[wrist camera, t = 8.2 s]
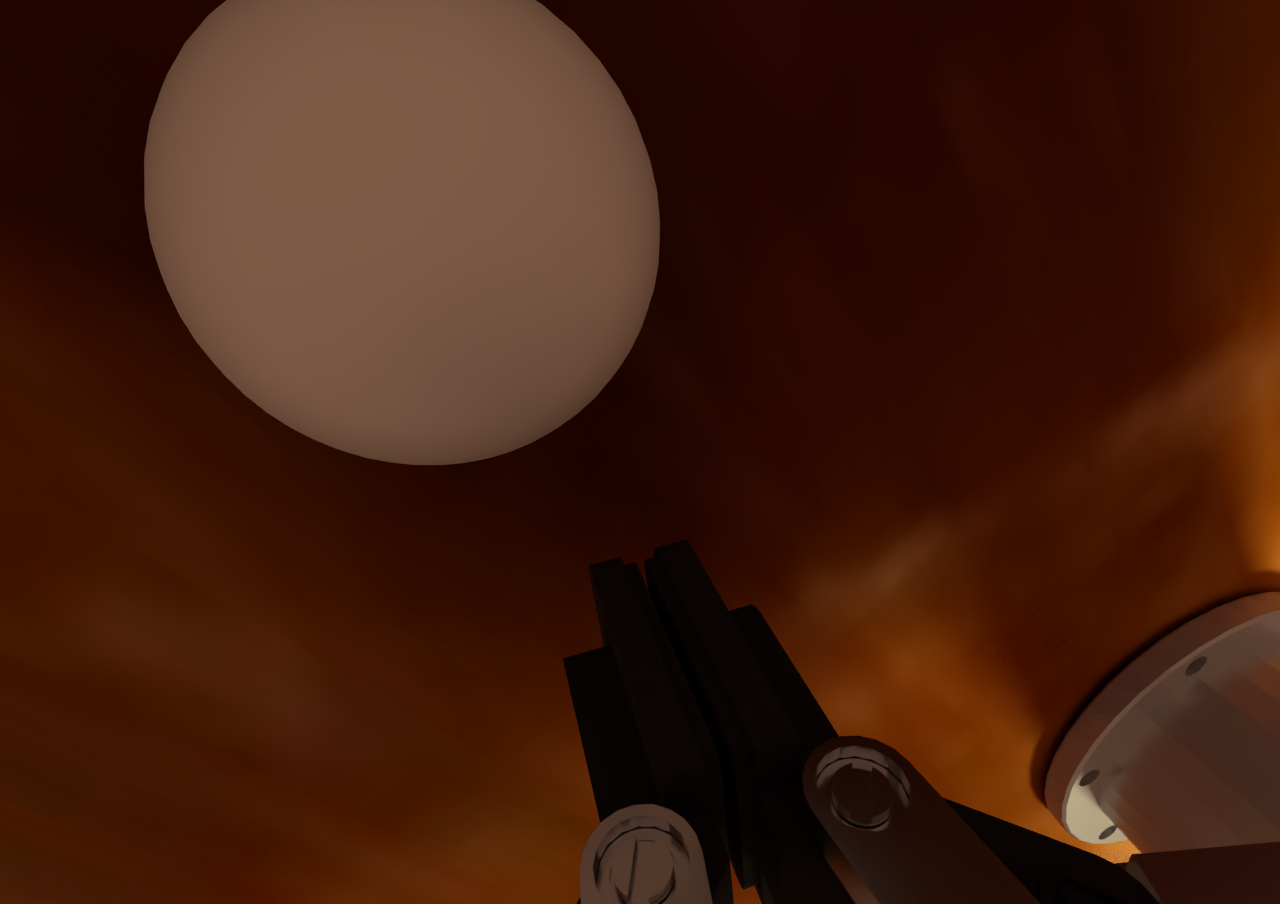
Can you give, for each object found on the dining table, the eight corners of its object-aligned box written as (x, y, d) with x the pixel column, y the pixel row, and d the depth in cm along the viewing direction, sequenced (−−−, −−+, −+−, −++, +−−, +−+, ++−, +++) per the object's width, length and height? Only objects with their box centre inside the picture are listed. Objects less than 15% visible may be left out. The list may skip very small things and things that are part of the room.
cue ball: (797, 80, 5) (660, -10, 9) (-140, -132, 4) (202, -127, 8) (640, 567, 8) (592, 340, 12) (124, 559, 7) (263, 305, 11)
